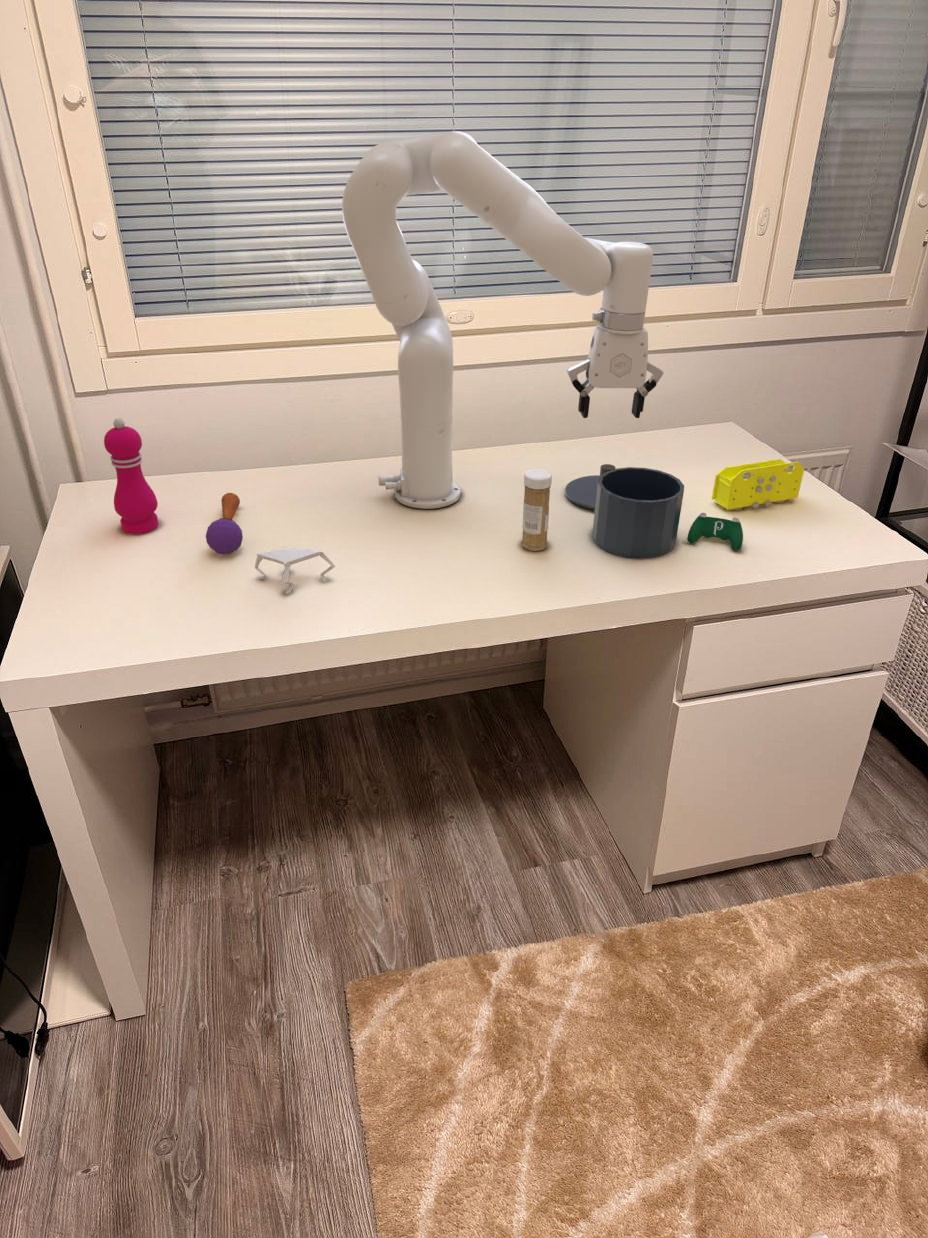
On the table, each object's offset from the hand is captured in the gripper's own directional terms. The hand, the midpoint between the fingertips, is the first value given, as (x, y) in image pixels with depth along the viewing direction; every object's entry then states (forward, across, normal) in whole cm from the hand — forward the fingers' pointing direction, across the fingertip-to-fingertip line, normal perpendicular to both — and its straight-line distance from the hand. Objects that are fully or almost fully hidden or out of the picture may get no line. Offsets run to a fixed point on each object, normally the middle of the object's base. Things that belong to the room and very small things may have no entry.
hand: (609, 415), depth 161 cm
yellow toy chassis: (+16, +29, -5) cm, 33 cm away
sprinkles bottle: (+17, -16, -19) cm, 30 cm away
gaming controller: (+16, +16, -20) cm, 30 cm away
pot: (+16, +2, -18) cm, 24 cm away
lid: (+16, +1, 0) cm, 16 cm away
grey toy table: (+18, -56, -28) cm, 65 cm away
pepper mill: (+19, -85, -6) cm, 87 cm away
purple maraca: (+18, -69, -10) cm, 72 cm away
